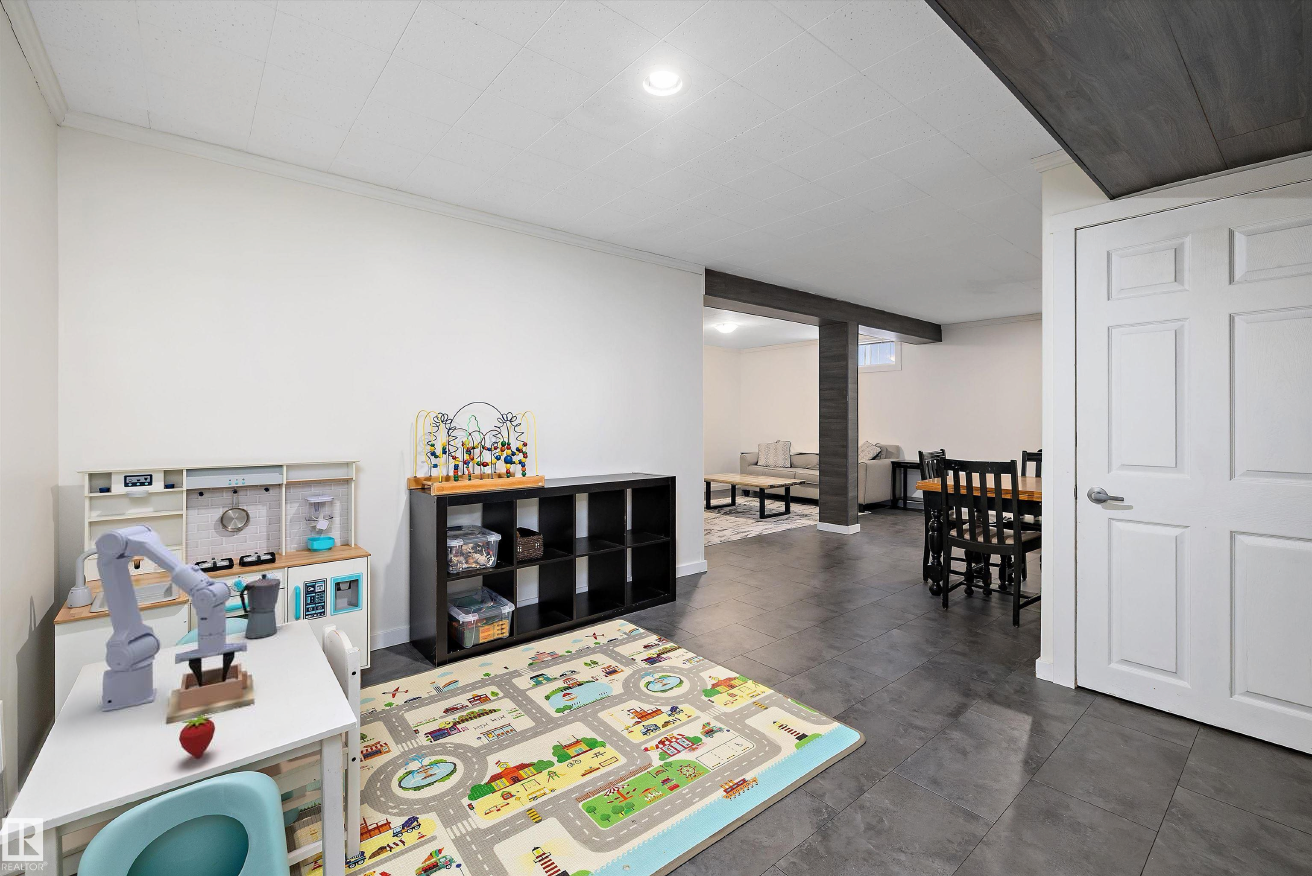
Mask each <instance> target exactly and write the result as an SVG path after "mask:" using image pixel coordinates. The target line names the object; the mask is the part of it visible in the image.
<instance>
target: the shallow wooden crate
mask: <svg viewBox="0 0 1312 876" xmlns="http://www.w3.org/2000/svg"><path fill="white" fill-rule="evenodd" d="M219 668H222V673H223V666H219V667H215V668H214V667H213V668H210V669H204V670H203V669H202V673H203V672H204V671H209V670H214V669H219ZM247 675H248V670H242V663H241V662H240V663H239V662H238V663H236V664H231V665H230V668H229V670H228V673H227V676H226V680H227V679H232V678H235V680H232V681H227V682H222V683H217V684H212V685H207V686H202V687H197V688H192V689H189V687H192V686H197V685H198V682H197V679H196V677H195V675H194V673H193V672H192V671H191V672H189V673H188V672H187V673H183V674H182V678H181V683H180V684H181V685H180V688H179V689H180V711H181V710H186V709H190V708H195V707H199V706H204V705H209V704H213V703H218V702H222V701H227V700H231V699H236V698H241V697H242V688H243V687H247Z"/></svg>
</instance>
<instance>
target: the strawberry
mask: <svg viewBox="0 0 1312 876" xmlns="http://www.w3.org/2000/svg"><path fill="white" fill-rule="evenodd" d="M194 713H195V712H194ZM195 714H196V713H195ZM197 715H198V714H197ZM204 716H205V715H202V716H200V717H196V719H187V720H182V721H180V722H181V723H182V724H185V723H186V725H185V726H184V727H183V728H182V730H181V731H180V732H179V738H178V740H179V743H180V746H181V748H182V749H183V750H184V751H186V753H188V754H189V755H191V756H193V757H194V759H201V757H202V756H203V755H204V754H205V752H206V750H207V749H208V747H209V746H210V744H211V742H212V740H213V738H214V735H215V731H216V725H215V723H214V721H213V720H211V719H212V718H213V716H210V717H207V716H206V717H204Z"/></svg>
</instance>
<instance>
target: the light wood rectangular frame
mask: <svg viewBox="0 0 1312 876" xmlns="http://www.w3.org/2000/svg"><path fill="white" fill-rule="evenodd" d="M253 681H254V680H253V675H252V674H247V687H243V688H242V697H241V698H236V699H231V700H227V701H222V702H218V703H213V704H209V705H204V706H199V707H195V708H190V709H186V710H181V711H180V689H181V688H178V689H171V693H170V698H169V703H168V707H167V712H166V717H165V718H166V719H165V720H166V723H165V724H166V725H169V724H172V723H178V722H183V721H187V720H190V719H189V718H191V719H195V718H198V716H201V715H204V716H206V715H205V714H209V713H213V712H217V713H219V712H218V711H222V712H224V711H223V710H226V711H228V710H227V709H231V710H234V709H233V708H235V709H238V708H237V707H239V708H243V707H242V706H244V707H247V706H252V705H251V704H253V705H255V693H254V683H253ZM194 712H195V713H196V714H195V713H194ZM197 714H198V715H197ZM213 714H214V713H213ZM209 715H210V714H209ZM194 717H195V718H194ZM176 721H177V722H176Z"/></svg>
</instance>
